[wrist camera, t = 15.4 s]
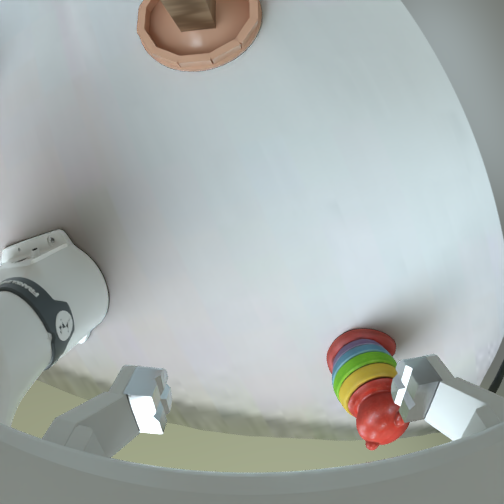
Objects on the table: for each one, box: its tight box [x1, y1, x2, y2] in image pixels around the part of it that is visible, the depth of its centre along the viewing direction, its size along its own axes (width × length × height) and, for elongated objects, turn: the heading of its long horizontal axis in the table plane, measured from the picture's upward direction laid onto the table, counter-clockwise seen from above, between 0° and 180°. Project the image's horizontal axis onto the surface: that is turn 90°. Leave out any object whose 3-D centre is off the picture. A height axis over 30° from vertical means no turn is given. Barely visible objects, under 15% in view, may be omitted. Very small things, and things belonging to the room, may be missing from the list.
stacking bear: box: [327, 329, 410, 450], centre depth 37 cm, size 11×10×18 cm
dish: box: [137, 0, 262, 72], centre depth 31 cm, size 16×16×3 cm
